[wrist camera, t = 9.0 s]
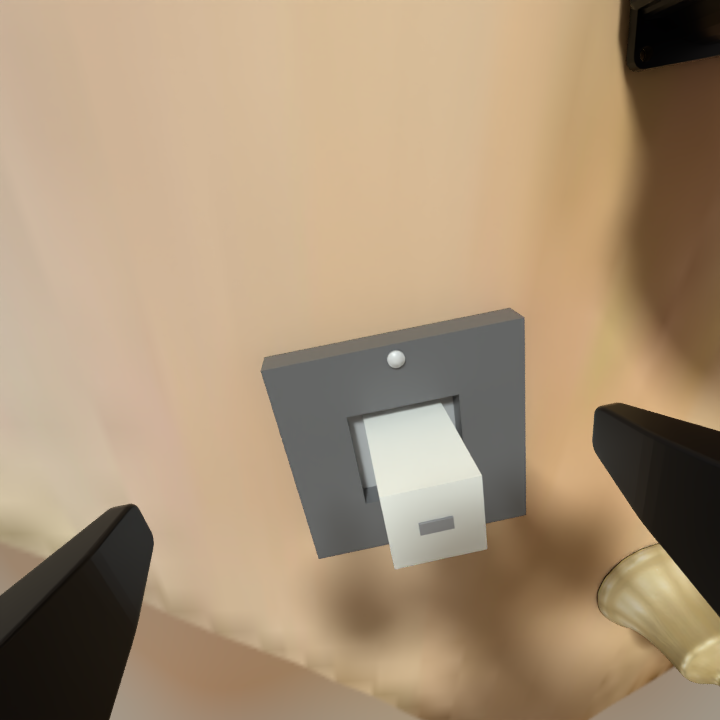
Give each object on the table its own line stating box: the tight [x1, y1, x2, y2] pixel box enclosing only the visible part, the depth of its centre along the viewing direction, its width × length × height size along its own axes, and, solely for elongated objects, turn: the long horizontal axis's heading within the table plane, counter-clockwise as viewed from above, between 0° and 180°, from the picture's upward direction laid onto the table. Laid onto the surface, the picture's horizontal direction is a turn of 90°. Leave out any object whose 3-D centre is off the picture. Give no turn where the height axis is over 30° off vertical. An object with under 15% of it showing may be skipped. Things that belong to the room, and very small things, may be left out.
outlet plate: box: [261, 308, 526, 559], centre depth 21 cm, size 12×12×2 cm
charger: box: [363, 399, 487, 569], centre depth 19 cm, size 4×4×6 cm
